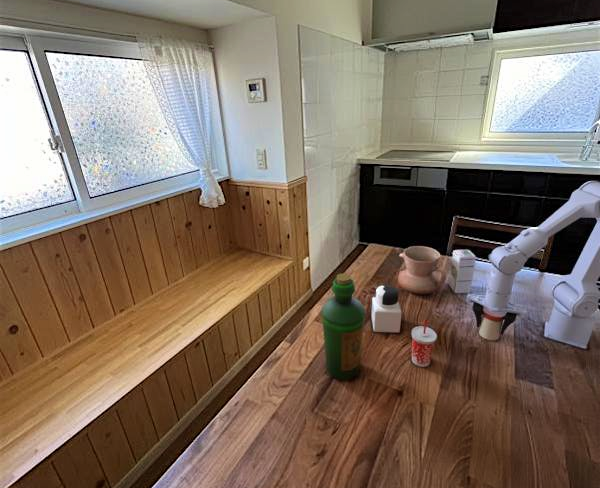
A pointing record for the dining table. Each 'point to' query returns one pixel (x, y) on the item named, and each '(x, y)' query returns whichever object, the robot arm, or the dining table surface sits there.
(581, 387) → the dining table surface
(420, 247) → the ceramic jug
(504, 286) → the robot arm
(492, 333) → the jam jar
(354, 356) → the bottle
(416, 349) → the beverage cup
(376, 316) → the container
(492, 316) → the jar lid
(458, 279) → the syrup box
